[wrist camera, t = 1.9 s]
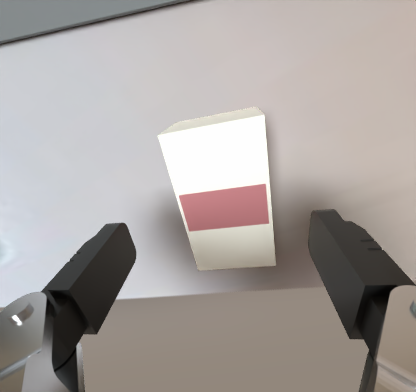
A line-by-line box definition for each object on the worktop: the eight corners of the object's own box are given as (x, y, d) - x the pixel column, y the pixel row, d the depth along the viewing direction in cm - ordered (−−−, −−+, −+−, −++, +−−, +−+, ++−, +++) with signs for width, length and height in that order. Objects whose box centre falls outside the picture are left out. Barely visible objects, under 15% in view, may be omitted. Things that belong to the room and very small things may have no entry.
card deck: (255, 106, 13) (264, 115, 9) (266, 227, 17) (276, 267, 13) (176, 121, 14) (157, 135, 10) (205, 233, 18) (198, 271, 14)
